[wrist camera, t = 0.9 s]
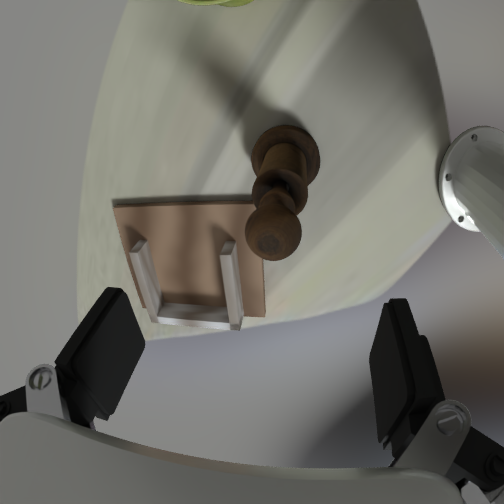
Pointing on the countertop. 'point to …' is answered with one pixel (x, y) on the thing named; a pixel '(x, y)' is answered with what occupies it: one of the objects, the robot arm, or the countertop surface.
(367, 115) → the countertop surface
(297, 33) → the countertop surface
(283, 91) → the countertop surface
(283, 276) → the countertop surface
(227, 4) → the plant pot
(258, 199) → the wooden chess pawn
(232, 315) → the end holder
